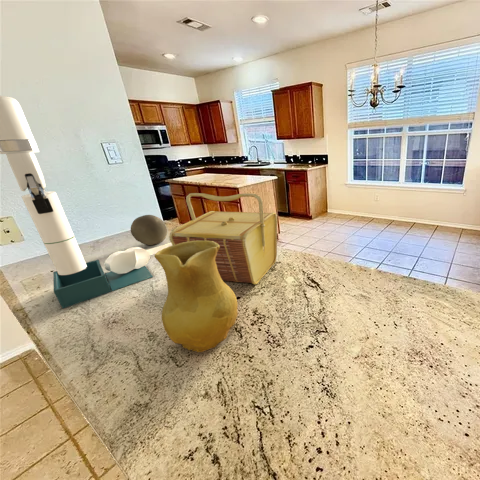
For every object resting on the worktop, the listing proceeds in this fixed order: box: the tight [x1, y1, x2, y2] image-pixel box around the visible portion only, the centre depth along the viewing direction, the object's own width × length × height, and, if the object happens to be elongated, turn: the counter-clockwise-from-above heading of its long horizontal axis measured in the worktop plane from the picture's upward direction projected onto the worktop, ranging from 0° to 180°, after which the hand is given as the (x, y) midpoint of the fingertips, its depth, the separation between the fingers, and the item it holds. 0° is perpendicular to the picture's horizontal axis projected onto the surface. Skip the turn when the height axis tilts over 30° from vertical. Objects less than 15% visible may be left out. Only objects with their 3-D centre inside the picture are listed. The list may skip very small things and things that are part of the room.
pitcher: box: [153, 240, 239, 353], centre depth 65 cm, size 17×19×25 cm
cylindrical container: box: [21, 191, 87, 275], centre depth 81 cm, size 7×7×25 cm
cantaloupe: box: [130, 214, 168, 246], centre depth 126 cm, size 14×14×15 cm
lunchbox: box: [52, 259, 154, 309], centre depth 95 cm, size 25×18×7 cm
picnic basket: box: [168, 192, 278, 286], centre depth 94 cm, size 29×26×30 cm
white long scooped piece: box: [103, 242, 172, 274], centre depth 112 cm, size 38×8×4 cm
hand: (46, 209), depth 78 cm, fingers closed on cylindrical container, 7 cm apart
